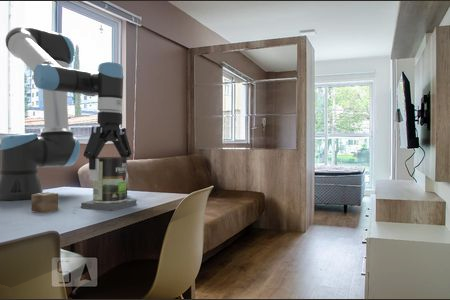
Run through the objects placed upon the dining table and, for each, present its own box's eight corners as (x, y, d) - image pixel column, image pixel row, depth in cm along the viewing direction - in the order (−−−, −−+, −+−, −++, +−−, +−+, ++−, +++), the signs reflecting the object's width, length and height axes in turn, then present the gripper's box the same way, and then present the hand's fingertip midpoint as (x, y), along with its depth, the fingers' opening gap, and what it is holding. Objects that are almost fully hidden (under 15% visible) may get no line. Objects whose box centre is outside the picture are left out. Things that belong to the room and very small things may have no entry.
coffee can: (131, 199, 117) (132, 157, 117) (116, 204, 107) (116, 158, 107) (103, 198, 119) (104, 156, 119) (85, 203, 109) (86, 157, 109)
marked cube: (31, 211, 103) (31, 193, 102) (45, 208, 107) (45, 191, 107) (44, 213, 101) (44, 194, 101) (58, 210, 105) (58, 192, 105)
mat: (81, 207, 109) (81, 202, 109) (106, 201, 121) (106, 197, 120) (112, 210, 105) (112, 205, 105) (136, 204, 116) (136, 199, 116)
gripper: (91, 108, 99) (90, 183, 100) (142, 115, 123) (141, 175, 123) (71, 108, 102) (70, 181, 103) (124, 115, 125) (123, 174, 126)
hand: (109, 178), depth 113 cm, fingers open, 13 cm apart
